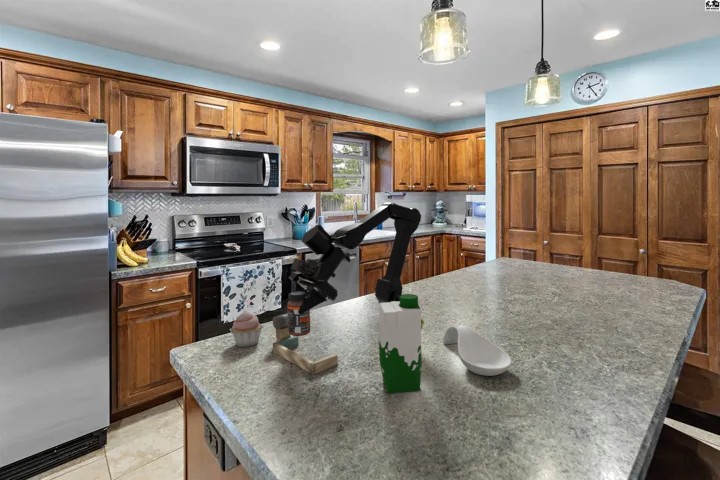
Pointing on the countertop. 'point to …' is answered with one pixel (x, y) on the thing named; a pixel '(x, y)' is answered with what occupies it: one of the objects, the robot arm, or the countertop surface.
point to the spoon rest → (477, 351)
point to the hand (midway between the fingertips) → (293, 310)
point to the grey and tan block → (281, 327)
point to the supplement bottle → (298, 315)
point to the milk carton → (400, 344)
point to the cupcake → (246, 329)
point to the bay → (299, 360)
